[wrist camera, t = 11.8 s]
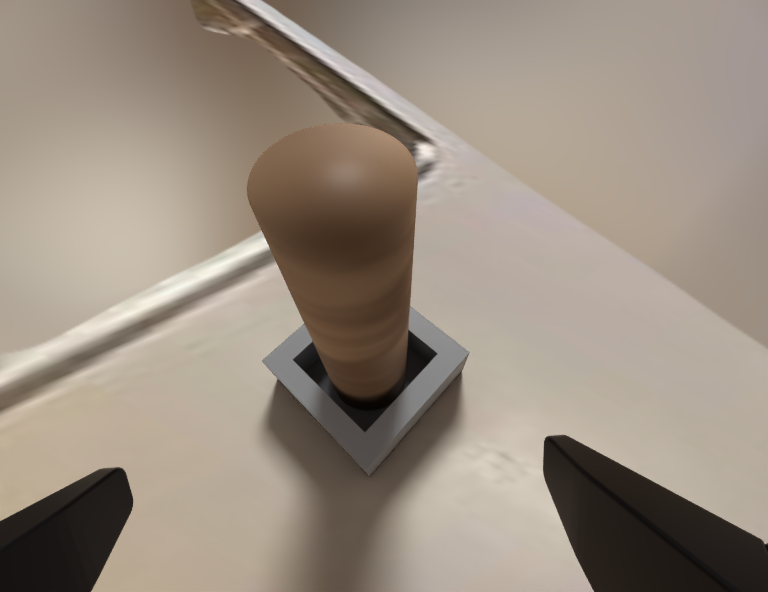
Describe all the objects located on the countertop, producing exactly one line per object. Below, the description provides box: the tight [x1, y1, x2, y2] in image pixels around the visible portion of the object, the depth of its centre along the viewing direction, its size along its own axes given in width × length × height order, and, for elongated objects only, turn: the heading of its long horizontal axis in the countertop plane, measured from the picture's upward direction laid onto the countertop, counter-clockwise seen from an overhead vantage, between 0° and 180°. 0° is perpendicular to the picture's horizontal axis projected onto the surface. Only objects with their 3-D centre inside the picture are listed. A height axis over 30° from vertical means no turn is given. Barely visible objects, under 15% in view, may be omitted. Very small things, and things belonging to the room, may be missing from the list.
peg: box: [247, 123, 418, 411], centre depth 16 cm, size 4×4×15 cm
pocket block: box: [262, 306, 469, 477], centre depth 22 cm, size 8×8×3 cm
